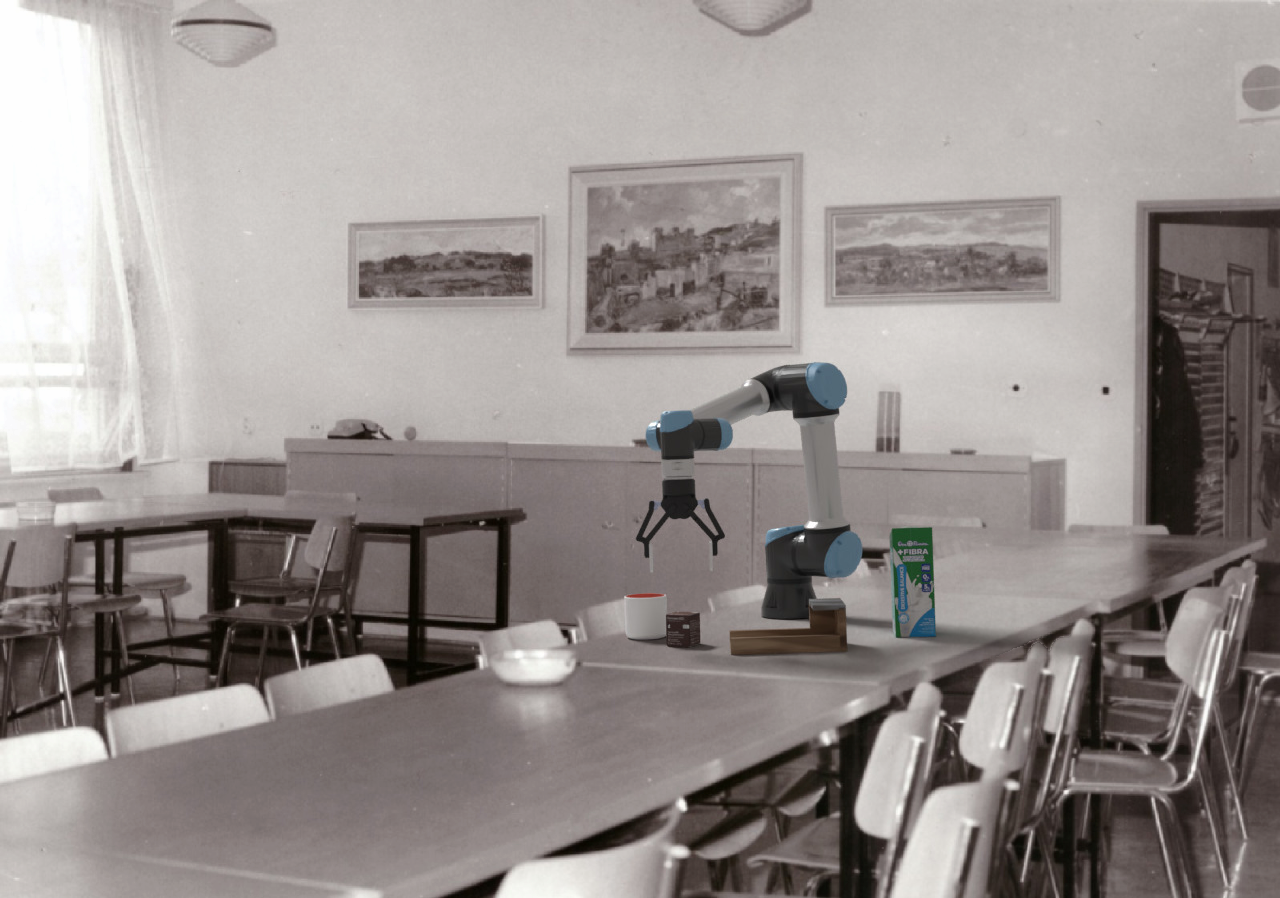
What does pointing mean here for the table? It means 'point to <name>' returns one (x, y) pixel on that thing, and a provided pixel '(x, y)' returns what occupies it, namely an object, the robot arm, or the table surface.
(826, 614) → the channel
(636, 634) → the cup
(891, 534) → the milk carton
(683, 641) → the box
